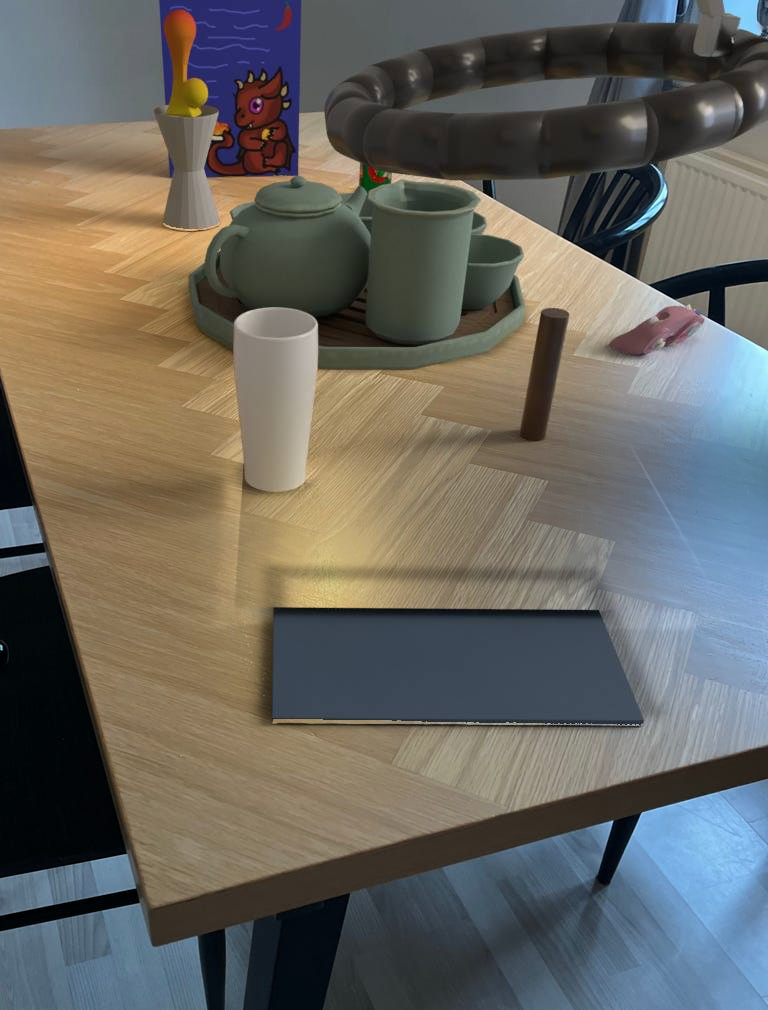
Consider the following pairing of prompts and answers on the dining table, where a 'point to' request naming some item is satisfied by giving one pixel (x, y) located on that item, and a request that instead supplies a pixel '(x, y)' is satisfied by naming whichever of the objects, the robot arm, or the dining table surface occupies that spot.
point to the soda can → (373, 177)
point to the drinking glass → (275, 394)
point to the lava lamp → (187, 133)
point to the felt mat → (448, 666)
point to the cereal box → (245, 81)
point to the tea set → (365, 272)
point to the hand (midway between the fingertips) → (748, 56)
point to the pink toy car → (660, 331)
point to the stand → (543, 373)
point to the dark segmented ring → (558, 132)
